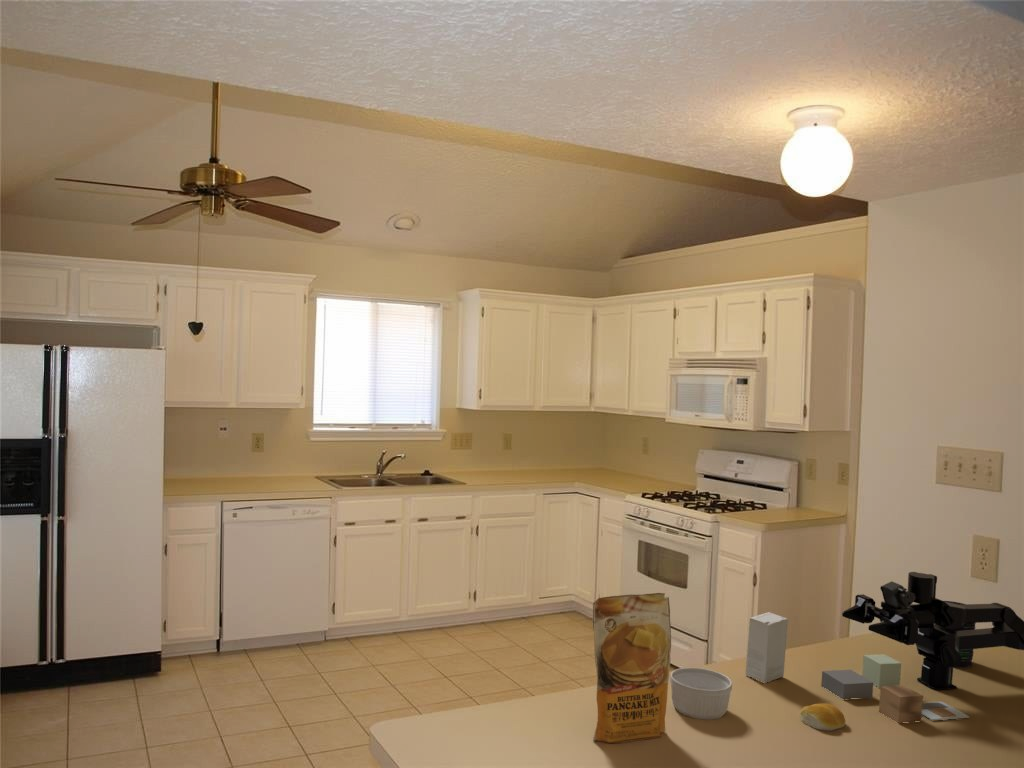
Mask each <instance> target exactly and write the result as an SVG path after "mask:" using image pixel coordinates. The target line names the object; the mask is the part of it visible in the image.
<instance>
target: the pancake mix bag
mask: <svg viewBox="0 0 1024 768" xmlns="http://www.w3.org/2000/svg"><path fill="white" fill-rule="evenodd" d="M665 595H666V592H665V593H664V592H656V593H644V594H623V595H611V596H605V597H604V596H603V597H598V598H597V599H596V600H595V601H593V603H592V604H593V605H592V606H593V607H592V619H593V620H592V628H593V629H592V630H593V632H594V635H593V636H594V638H593V639H594V641H593V642H594V659H595V669H596V676H597V677H596V680H597V681H596V704H597V722H596V728H595V731H594V735H593V741H598V742H600V741H601V742H603V743H606V744H617V743H627V742H628V743H629V742H635V741H641V740H651V739H657V738H661V734H663V733H664V732H666V721H665V720H666V713H667V703H668V689H669V680H670V670H671V669H670V667H671V653H672V631H671V630H672V628H671V624H672V623H671V607H670V597H669V596H665Z"/></svg>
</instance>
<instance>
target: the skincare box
mask: <svg viewBox="0 0 1024 768" xmlns="http://www.w3.org/2000/svg"><path fill="white" fill-rule="evenodd" d="M788 623H789V619H788V618H786V617H784V616H781V615H778V614H775V613H773V612H769V611H768V612H765V613H760V614H758V615H755V616H751V617H749V625H748V626H749V627H748V635H747V636H748V637H747V649H746V662H745V664H746V665H745V676H747V677H748V678H750V677H752V678H751V679H753V678H754V679H753V680H755V679H757V680H756V681H758V680H759V681H758V682H760V681H762V682H764V683H763V684H768V683H770V682H772V680H773V681H775V680H777V679H781V678H782V677H784V675H785V674H784V673H785V661H786V660H785V659H786V651H787V650H786V647H787V638H788V637H787V636H788ZM762 682H761V683H762ZM767 682H768V683H767Z"/></svg>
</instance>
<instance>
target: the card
mask: <svg viewBox="0 0 1024 768" xmlns="http://www.w3.org/2000/svg"><path fill="white" fill-rule="evenodd" d="M922 715H924V716H926V717H927V718H929V719H931V720H942V719H956V718H969V719H970V716H969V715H967V714H966V713H964V712H962V711H960V710H958V709H957V708H954V707H953V706H950V705H949V704H947V703H945V702H943V701H929V702H928V701H927V702H922ZM922 715H921V716H922ZM924 716H923V717H924ZM926 717H925V718H926ZM927 718H926V719H927ZM929 719H928V720H929ZM931 720H930V721H931ZM956 720H957V719H956Z"/></svg>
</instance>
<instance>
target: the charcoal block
mask: <svg viewBox="0 0 1024 768" xmlns="http://www.w3.org/2000/svg"><path fill="white" fill-rule="evenodd" d="M821 673H822V674H821V684H820V685H821V687H822V688H823V687H824V688H823V689H825V688H826V689H828V690H829V691H831V692H832V694H833V693H834V694H835V696H836V695H837V696H839V697H840V698H842V699H851V698H870V699H873V694H874V693H873V691H874V685H873V682H871V681H870V680H868V679H866V678H865V677H863V676H862V675H861V674H859V673H858V672H857V671H854V670H853V669H835V670H834V669H833V670H822V671H821ZM826 689H825V690H826ZM828 690H827V691H828ZM829 691H828V692H829ZM831 692H830V693H831ZM834 694H833V695H834ZM837 696H836V697H837ZM839 697H838V698H839ZM840 698H839V699H840ZM842 699H841V700H842Z"/></svg>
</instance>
